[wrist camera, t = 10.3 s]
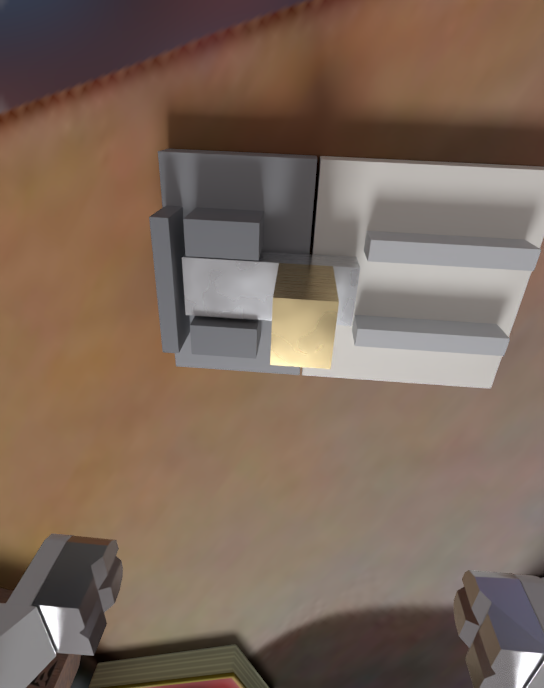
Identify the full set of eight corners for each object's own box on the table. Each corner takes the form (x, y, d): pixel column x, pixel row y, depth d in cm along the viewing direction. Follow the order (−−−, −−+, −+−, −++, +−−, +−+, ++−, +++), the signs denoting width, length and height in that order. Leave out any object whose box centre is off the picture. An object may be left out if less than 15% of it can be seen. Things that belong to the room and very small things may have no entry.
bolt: (356, 256, 25) (372, 304, 19) (348, 312, 27) (361, 371, 21) (190, 247, 26) (153, 290, 20) (193, 302, 27) (160, 357, 21)
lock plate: (548, 166, 24) (600, 179, 20) (480, 372, 31) (508, 415, 27) (168, 148, 25) (139, 156, 21) (183, 352, 32) (163, 390, 28)
